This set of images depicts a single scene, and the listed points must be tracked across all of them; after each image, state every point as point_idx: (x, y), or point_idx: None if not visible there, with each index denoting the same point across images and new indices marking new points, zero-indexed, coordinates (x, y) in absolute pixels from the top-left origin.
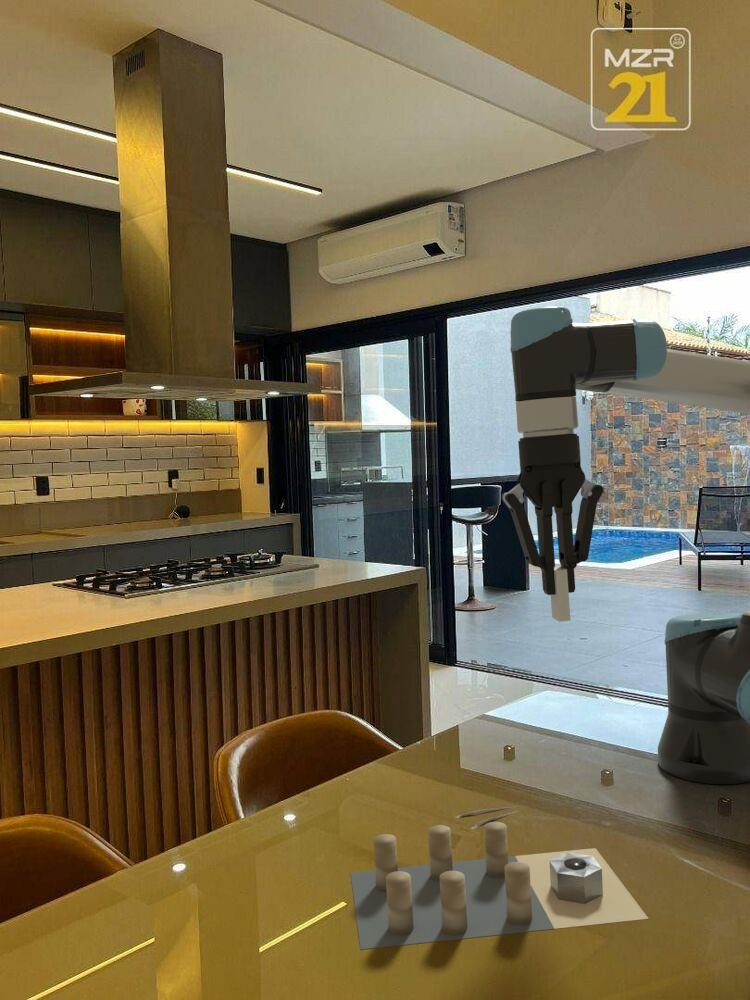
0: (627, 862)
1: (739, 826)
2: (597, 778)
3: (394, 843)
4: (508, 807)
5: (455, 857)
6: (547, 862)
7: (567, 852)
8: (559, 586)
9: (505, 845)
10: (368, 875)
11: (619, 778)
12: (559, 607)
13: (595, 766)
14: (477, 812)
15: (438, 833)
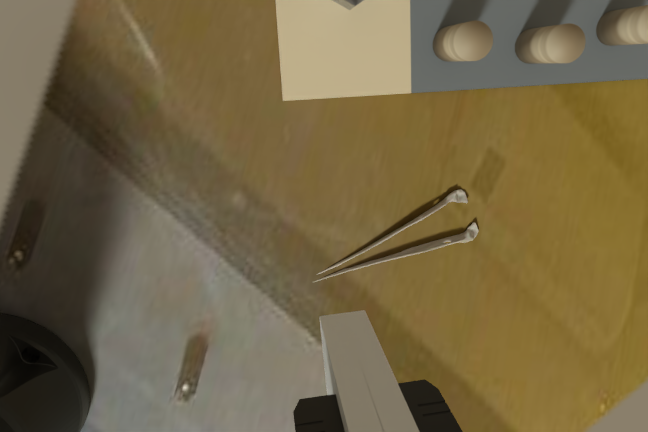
0: (242, 62)
1: (24, 158)
2: (208, 365)
3: (644, 11)
4: (383, 260)
5: (493, 117)
6: (368, 64)
7: (354, 5)
8: (383, 388)
9: (452, 28)
10: (632, 64)
11: (171, 361)
12: (370, 335)
13: (199, 412)
14: (436, 245)
15: (571, 29)
